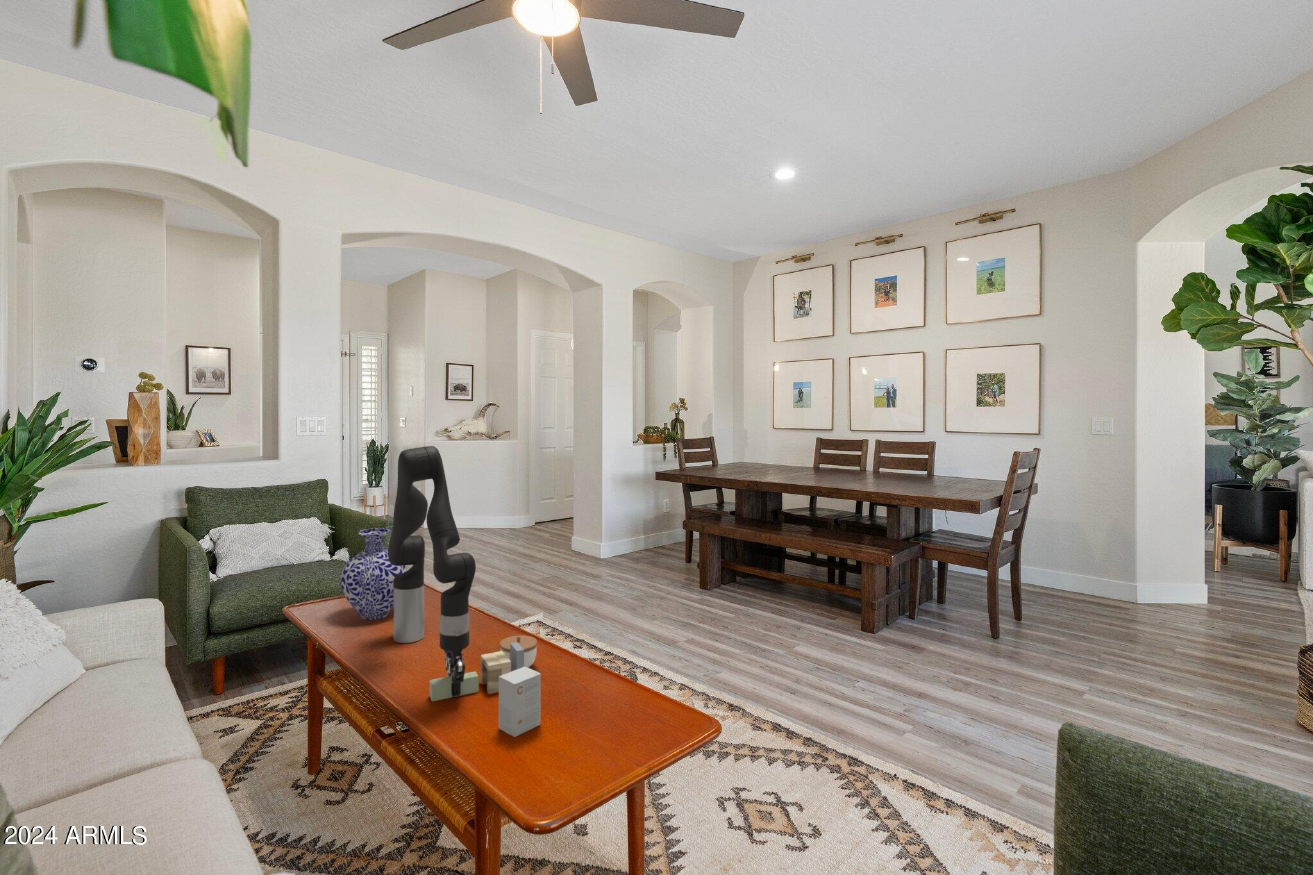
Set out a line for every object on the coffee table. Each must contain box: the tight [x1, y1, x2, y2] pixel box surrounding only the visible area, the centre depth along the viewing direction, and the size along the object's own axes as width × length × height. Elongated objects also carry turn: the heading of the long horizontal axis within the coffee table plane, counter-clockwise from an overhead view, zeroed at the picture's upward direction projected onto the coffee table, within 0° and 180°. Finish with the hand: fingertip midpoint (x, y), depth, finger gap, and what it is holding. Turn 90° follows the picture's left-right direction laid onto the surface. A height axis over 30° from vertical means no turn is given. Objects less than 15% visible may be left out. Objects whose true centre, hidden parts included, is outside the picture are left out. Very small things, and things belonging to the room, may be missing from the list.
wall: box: [510, 642, 524, 672], centre depth 183 cm, size 6×2×10 cm, turn 30°
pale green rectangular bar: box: [429, 671, 480, 702], centre depth 175 cm, size 3×12×4 cm, turn 120°
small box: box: [498, 667, 542, 738], centre depth 159 cm, size 8×6×13 cm
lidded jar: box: [499, 635, 538, 668], centre depth 192 cm, size 11×11×9 cm
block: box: [480, 650, 511, 695], centre depth 180 cm, size 8×6×8 cm
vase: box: [340, 527, 408, 621], centre depth 232 cm, size 22×22×30 cm
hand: (454, 692), depth 175 cm, fingers closed on pale green rectangular bar, 3 cm apart
